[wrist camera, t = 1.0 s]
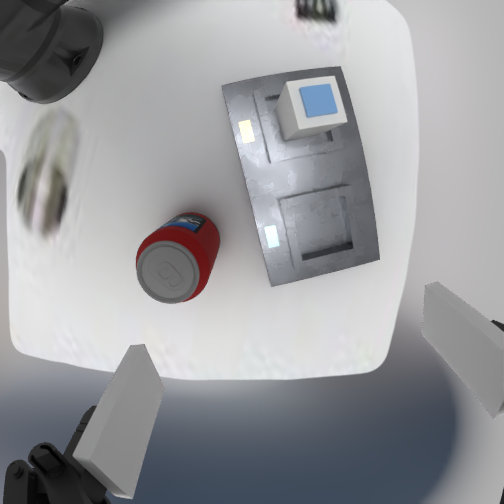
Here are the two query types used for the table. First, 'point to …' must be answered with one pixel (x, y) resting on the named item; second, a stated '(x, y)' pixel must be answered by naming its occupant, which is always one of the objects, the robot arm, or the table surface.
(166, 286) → the beverage can
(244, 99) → the grey socket board
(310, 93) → the plug
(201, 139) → the table surface
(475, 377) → the robot arm
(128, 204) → the table surface
